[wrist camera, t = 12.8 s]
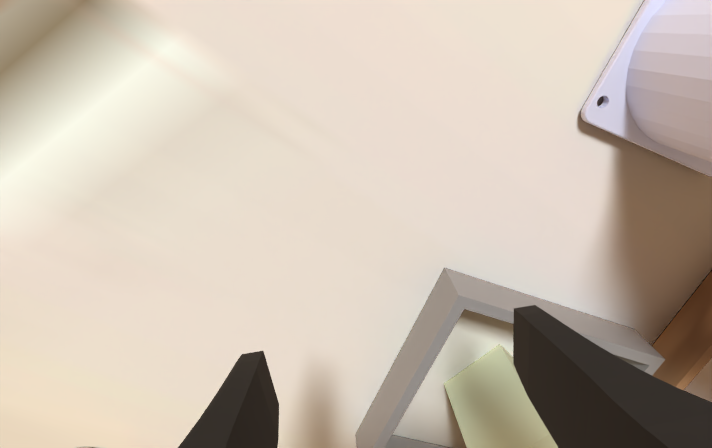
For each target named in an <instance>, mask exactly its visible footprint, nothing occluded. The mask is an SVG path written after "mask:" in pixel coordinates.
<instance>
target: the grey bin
mask: <svg viewBox="0 0 712 448" xmlns="http://www.w3.org/2000/svg"><path fill="white" fill-rule="evenodd" d="M531 305H536V306H537V307H539V308H541V309H542V310H544V311H545V312H547V313H548V314H550V315H551V316H553V317H554V318H556V319H557V320H559V321H560V322H562V323H563V324H565V325H567V326H568V327H570V328H571V329H573V330H574V331H576V332H577V333H579V334H580V335H582V336H584V337H585V338H587V339H588V340H590V341H591V342H593V343H595V344H596V345H598V346H600V347H601V348H603V349H605V350H606V351H608V352H610V353H611V354H613V355H615V356H617V357H618V358H620V359H622V360H624V361H626V362H627V363H629V364H631V365H633V366H635V367H636V368H638V369H640V370H642V371H644V372H646V373H648V374H650V375H653V374H654V373H655V372H656V370H657V369H658V368H659V367H660V366H661V364H662V363H663V362H664V361H665V358H663V357H662V356H661V355H660V354H659V353H658V352H657V351H656V350H655V349H654V348H653V347H652V346H651V345H650V344H649V343H648V342H647V341H646V340H645V339H644V338H643V337H642V336H641V335H640V334H639V333H638V332H637V331H636V330H635V329H632V328H629V327H626V326H623V325H620V324H616V323H613V322H610V321H607V320H604V319H601V318H598V317H595V316H592V315H589V314H586V313H583V312H579V311H576V310H573V309H570V308H567V307H564V306H561V305H558V304H555V303H552V302H549V301H545V300H542V299H539V298H536V297H533V296H530V295H527V294H524V293H521V292H518V291H515V290H512V289H508V288H505V287H502V286H499V285H496V284H493V283H490V282H487V281H484V280H481V279H478V278H474V277H471V276H468V275H465V274H462V273H459V272H456V271H453V270H450V269H447V268H444V270H443V272H442V273H441V275H440V277H439V279H438V281H437V283H436V285H435V287H434V288H433V290H432V292H431V294H430V296H429V298H428V300H427V302H426V303H425V305H424V307H423V309H422V311H421V313H420V315H419V317H418V318H417V320H416V322H415V324H414V326H413V328H412V330H411V332H410V333H409V335H408V337H407V339H406V341H405V343H404V345H403V347H402V348H401V350H400V352H399V354H398V356H397V358H396V360H395V362H394V363H393V365H392V367H391V369H390V371H389V373H388V375H387V377H386V378H385V380H384V382H383V384H382V386H381V388H380V390H379V392H378V393H377V395H376V397H375V399H374V401H373V403H372V405H371V407H370V408H369V410H368V412H367V414H366V416H365V418H364V420H363V421H362V423H361V425H360V427H359V429H358V431H357V433H356V444H357V448H448V447H444V446H439V445H435V444H430V443H426V442H421V441H417V440H412V439H408V438H404V437H399V436H395V435H392V434H393V432H394V430H395V429H396V427H397V425H398V423H399V422H400V420H401V418H402V416H403V415H404V413H405V411H406V409H407V408H408V406H409V404H410V402H411V401H412V399H413V397H414V396H415V394H416V392H417V390H418V389H419V387H420V385H421V383H422V382H423V380H424V378H425V376H426V375H427V373H428V371H429V369H430V368H431V366H432V364H433V363H434V361H435V359H436V357H437V356H438V354H439V352H440V350H441V349H442V347H443V345H444V343H445V342H446V340H447V338H448V336H449V335H450V333H451V331H452V329H453V328H454V326H455V324H456V323H457V321H458V319H459V317H460V316H461V314H462V312H463V310H464V309H466V310H469V311H472V312H476V313H479V314H482V315H486V316H489V317H492V318H495V319H499V320H502V321H505V322H509V323H512V324H514V308H519V307H525V306H531Z"/></svg>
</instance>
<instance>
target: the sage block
mask: <svg viewBox="0 0 712 448" xmlns="http://www.w3.org/2000/svg"><path fill="white" fill-rule="evenodd" d="M444 385H445V388H446V391H447V394H448V397H449V399H450V402H451V405H452V408H453V411H454V414H455V416H456V419H457V422H458V425H459V428H460V430H461V433H462V436H463V439H464V442H465V444H466V447H467V448H558V446H557V444H556V443H555V441H554V440H553V438H552V436H551V435H550V433H549V431H548V430H547V428H546V426H545V425H544V423H543V421H542V420H541V418H540V416H539V415H538V413H537V411H536V410H535V408H534V406H533V405H532V403H531V401H530V399H529V398H528V396H527V394H526V391H525V389H524V387H523V385H522V383H521V380H520V378H519V376H518V373H517V371H516V369H515V366H514V364H513V357H512V356H511V355H510V354H509V353H508V352H507V351H506V350H505V349H504V348H503V347H502V346H501V345H500V344H499V345H498V346H496V347H495V348H494V349H492V350H491V351H489V352H488V353H487V354H485V355H484V356H482V357H481V358H480V359H478V360H477V361H475V362H474V363H472V364H471V365H470V366H468V367H467V368H465V369H464V370H463V371H461V372H460V373H458V374H457V375H456V376H454V377H453V378H451V379H450V380H448V381H447V382H446V383H444Z"/></svg>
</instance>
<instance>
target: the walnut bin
mask: <svg viewBox="0 0 712 448" xmlns="http://www.w3.org/2000/svg"><path fill="white" fill-rule="evenodd" d="M652 347H653V348H654V349H655V350H656V351H657V352H658V353H659V354H660V355H661V356H662V357H663V358H665V361H664V362H663V363H662V364H661V366H660V367H659V368H658V369H657V370H656V372H655V373H654V374H653V375H652V376H654V377H656V378H658V379H660V380H662V381H664V382H666V383H669V384H671V385H673V386H675V387H677V388H679V389H681V390H684V389H685V388H686V387H687V386H688V384H689V383H690V382H691V381H692V380H693V379H694V377H695V376H696V375H697V374H698V373H699V372H700V370H701V369H702V368H703V367H704V366H705V365H706V364H707V362H708V361H709V360H710V359H711V358H712V271H711V272H710V273H709V275H708V276H707V277H706V278H705V280H704V281H703V282H702V283H701V285H700V286H699V287H698V288H697V290H696V291H695V292H694V294H693V295H692V296H691V297H690V299H689V300H688V301H687V302H686V304H685V305H684V306H683V307H682V309H681V310H680V311H679V312H678V314H677V315H676V316H675V318H674V319H673V320H672V321H671V323H670V324H669V325H668V326H667V328H666V329H665V330H664V331H663V333H662V334H661V335H660V336H659V338H658V339H657V340H656V342H655V343H654V344H653V345H652Z"/></svg>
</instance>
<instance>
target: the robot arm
mask: <svg viewBox="0 0 712 448" xmlns="http://www.w3.org/2000/svg"><path fill="white" fill-rule="evenodd" d="M601 96H603V98H604V100H603V103H602V104H601V105H600V106H597V101H598V99H599V98H600V97H601ZM581 117H582V119H583V120H584V121H585V122H586V123H589V124H591V125H593V126H596V127H598V128H600V129H602V130H605V131H607V132H609V133H611V134H614V135H616V136H618V137H621V138H623V139H625V140H627V141H630V142H632V143H634V144H636V145H639V146H641V147H643V148H646V149H648V150H650V151H652V152H655V153H657V154H659V155H661V156H664V157H666V158H668V159H671V160H673V161H675V162H677V163H680V164H682V165H684V166H686V167H689V168H691V169H693V170H696V171H698V172H700V173H702V174H705V175H707V176H710V177H712V0H644V2H643V4H642V5H641V7H640V9H639V11H638V12H637V14H636V16H635V18H634V19H633V21H632V23H631V25H630V26H629V28H628V30H627V31H626V33H625V35H624V37H623V38H622V40H621V42H620V44H619V45H618V47H617V49H616V51H615V52H614V54H613V56H612V57H611V59H610V61H609V63H608V64H607V66H606V68H605V70H604V71H603V73H602V75H601V77H600V78H599V80H598V82H597V83H596V85H595V87H594V89H593V90H592V92H591V94H590V96H589V97H588V99H587V101H586V103H585V104H584V106H583V108H582V111H581ZM513 364H514V366H515V369H516V371H517V373H518V376H519V378H520V380H521V383H522V385H523V387H524V389H525V391H526V394H527V396H528V398H529V399H530V401H531V403H532V405H533V406H534V408H535V410H536V411H537V413H538V415H539V416H540V418H541V420H542V421H543V423H544V425H545V426H546V428H547V430H548V431H549V433H550V435H551V436H552V438H553V440H554V441H555V443H556V444H557V446H558V448H712V402H710V401H707V400H705V399H702V398H700V397H697V396H695V395H693V394H690V393H688V392H686V391H683V390H681V389H679V388H677V387H675V386H673V385H671V384H669V383H666V382H664V381H662V380H660V379H658V378H656V377H654V376H652V375H650V374H648V373H646V372H644V371H642V370H640V369H638V368H636V367H635V366H633V365H631V364H629V363H627V362H626V361H624V360H622V359H620V358H618V357H617V356H615V355H613V354H611V353H610V352H608V351H606V350H605V349H603V348H601V347H600V346H598V345H596V344H595V343H593V342H591V341H590V340H588V339H587V338H585V337H584V336H582V335H580V334H579V333H577V332H576V331H574V330H573V329H571V328H570V327H568V326H567V325H565V324H563V323H562V322H560V321H559V320H557V319H556V318H554V317H553V316H551V315H550V314H548V313H547V312H545V311H544V310H542V309H541V308H539V307H537V306H536V305H531V306H525V307H519V308H514V351H513ZM278 428H279V403H278V400H277V396H276V393H275V389H274V386H273V383H272V379H271V376H270V372H269V369H268V366H267V362H266V359H265V355H264V352H263V351H259V352H254V353H248V354H242V355H241V356H240V358H239V359H238V361H237V362H236V364H235V365H234V367H233V369H232V370H231V372H230V373H229V375H228V377H227V378H226V380H225V381H224V383H223V385H222V386H221V388H220V389H219V391H218V392H217V394H216V395H215V397H214V398H213V400H212V401H211V403H210V404H209V406H208V407H207V409H206V410H205V412H204V413H203V415H202V416H201V418H200V419H199V420H198V422H197V423H196V424H195V426H194V427H193V428H192V430H191V431H190V432H189V434H188V435H187V436H186V438H185V439H184V441H183V442H182V443H181V444H180V446H179V447H178V448H277V445H278Z"/></svg>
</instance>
